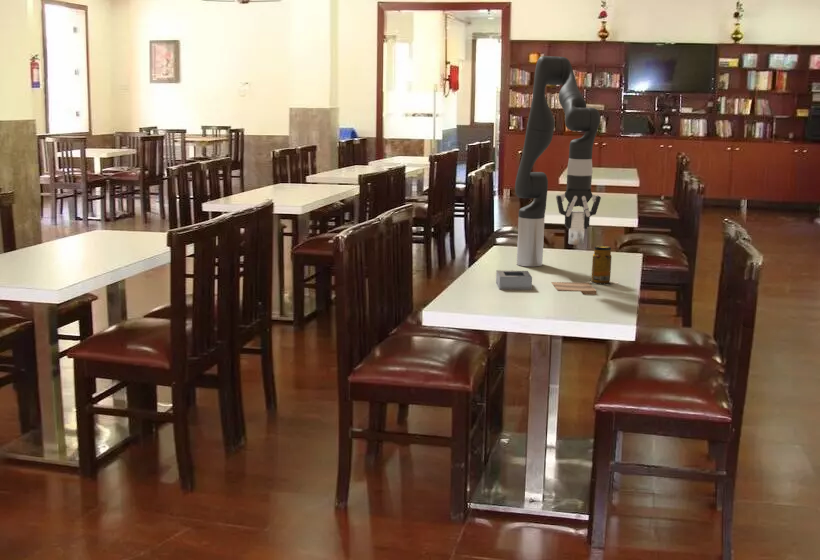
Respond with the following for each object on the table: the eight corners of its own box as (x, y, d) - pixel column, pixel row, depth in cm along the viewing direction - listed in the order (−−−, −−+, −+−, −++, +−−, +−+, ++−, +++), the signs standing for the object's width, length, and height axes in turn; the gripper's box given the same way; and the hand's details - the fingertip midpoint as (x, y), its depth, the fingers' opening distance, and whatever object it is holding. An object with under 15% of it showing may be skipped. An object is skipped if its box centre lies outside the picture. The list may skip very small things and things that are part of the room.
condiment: (595, 279, 308) (597, 244, 306) (619, 282, 304) (621, 246, 301) (586, 283, 303) (588, 246, 300) (610, 286, 298) (612, 249, 295)
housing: (495, 285, 296) (496, 270, 295) (527, 286, 296) (527, 270, 295) (499, 292, 286) (499, 276, 285) (531, 292, 286) (532, 277, 285)
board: (551, 285, 297) (551, 282, 297) (588, 286, 297) (588, 282, 297) (557, 293, 285) (557, 290, 285) (596, 294, 285) (596, 290, 285)
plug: (566, 242, 290) (568, 210, 288) (582, 242, 290) (583, 210, 288) (569, 244, 286) (571, 212, 284) (585, 244, 286) (586, 212, 284)
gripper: (600, 172, 287) (596, 226, 291) (554, 172, 287) (551, 226, 291) (605, 175, 280) (602, 230, 284) (558, 174, 280) (555, 229, 283)
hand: (576, 228), depth 287 cm, fingers closed on plug, 4 cm apart
